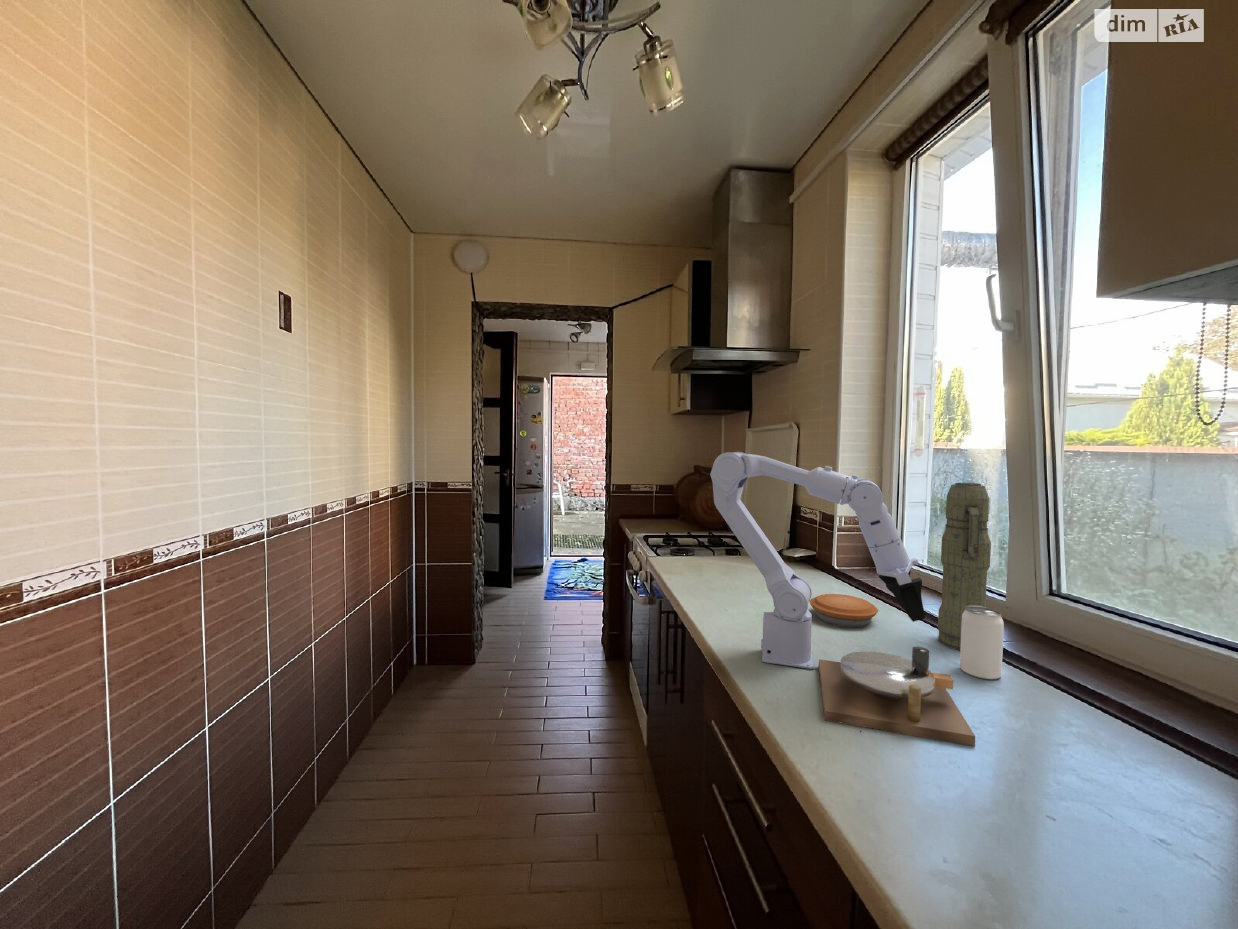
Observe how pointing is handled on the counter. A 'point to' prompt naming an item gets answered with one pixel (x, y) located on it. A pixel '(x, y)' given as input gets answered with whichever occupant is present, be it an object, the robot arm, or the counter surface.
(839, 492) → the robot arm
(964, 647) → the can
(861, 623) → the pie
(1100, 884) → the counter surface
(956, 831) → the counter surface
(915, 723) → the base board
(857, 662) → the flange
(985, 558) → the thermos
